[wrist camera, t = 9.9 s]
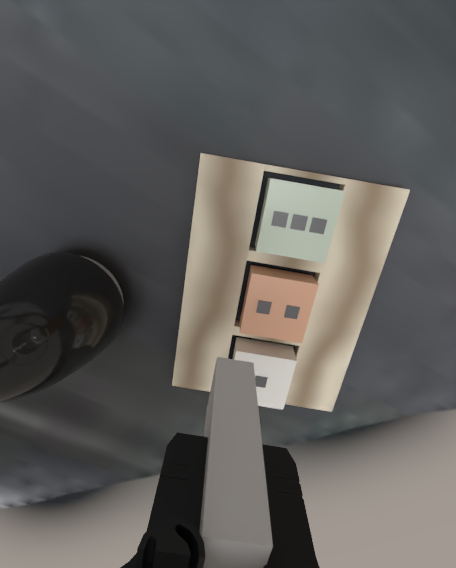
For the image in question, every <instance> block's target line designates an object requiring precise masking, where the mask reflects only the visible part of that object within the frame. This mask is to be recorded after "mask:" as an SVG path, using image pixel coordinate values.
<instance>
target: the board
mask: <svg viewBox="0 0 456 568" xmlns="http://www.w3.org/2000/svg"><path fill="white" fill-rule="evenodd" d="M264 171H268V172H273V173H279V174H285V175H290V176H296V177H302V178H307V179H313V180H319V181H325V182H330V183H336V184H340V185H339V189H338V190H341V191H345V194H344V198H343V201H342V205H341V208H340V212H339V215H338V219H337V222H336V226H335V229H334V233H333V236H332V240H331V243H330V247H329V250H328V254H327V257H326V261H325V263H321V262H315V261H309V260H303V259H298V258H292V257H286V256H280V255H274V254H268V253H263V252H257V251H256V248H254V247H249V246H250V241H251V236H252V230H253V225H254V220H255V215H256V210H257V204H258V199H259V194H260V189H261V184H262V178H263V173H264ZM409 192H410V190H408V189H402V188H397V187H391V186H385V185H380V184H374V183H368V182H363V181H357V180H351V179H346V178H340V177H334V176H329V175H323V174H317V173H311V172H306V171H300V170H294V169H289V168H283V167H277V166H272V165H266V164H260V163H255V162H249V161H243V160H238V159H232V158H226V157H221V156H215V155H209V154H204V153H201V155H200V163H199V171H198V179H197V187H196V195H195V203H194V211H193V219H192V228H191V236H190V244H189V252H188V260H187V268H186V276H185V284H184V292H183V300H182V309H181V317H180V325H179V333H178V341H177V349H176V357H175V365H174V373H173V381H172V386H178V387H184V388H190V389H196V390H202V391H208V392H210V391H211V385H212V380H213V375H214V370H215V365H216V360H217V357H222V358H228V355H229V350H230V345H231V340H232V335H237V336H243V337H249V338H255V339H261V340H267V341H273V342H279V343H285V344H291V345H295V348H294V352H295V356H296V359H297V363H296V366H295V370H294V374H293V377H292V381H291V384H290V388H289V391H288V395H287V398H286V402H285V404H287V405H293V406H299V407H305V408H312V409H318V410H324V411H330V412H332V410H333V407H334V404H335V401H336V399H337V396H338V393H339V390H340V387H341V384H342V382H343V379H344V376H345V373H346V370H347V367H348V365H349V362H350V359H351V356H352V353H353V350H354V348H355V345H356V342H357V339H358V336H359V333H360V331H361V328H362V325H363V322H364V319H365V316H366V314H367V311H368V308H369V305H370V302H371V300H372V297H373V294H374V291H375V288H376V285H377V283H378V280H379V277H380V274H381V271H382V268H383V266H384V263H385V260H386V257H387V254H388V251H389V249H390V246H391V243H392V240H393V237H394V234H395V232H396V229H397V226H398V223H399V220H400V217H401V215H402V212H403V209H404V206H405V203H406V201H407V198H408V195H409ZM247 261H253V262H259V263H265V264H270V265H276V266H282V267H288V268H294V269H300V270H306V271H311V272H315V276H314V279H315V280H316V281H317V283H318V284H319V286H318V289H317V293H316V296H315V300H314V303H313V307H312V310H311V314H310V317H309V321H308V324H307V328H306V331H305V335H304V338H303V342H302V343H297V342H291V341H285V340H279V339H273V338H267V337H261V336H255V335H249V334H243V333H240V320H235V319H236V314H237V308H238V303H239V298H240V293H241V288H242V282H243V277H244V272H245V267H246V262H247Z"/></svg>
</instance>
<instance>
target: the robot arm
mask: <svg viewBox="0 0 456 568" xmlns="http://www.w3.org/2000/svg"><path fill="white" fill-rule="evenodd" d="M121 568H319V565H318V562H317V559H316V556H315V551H314V547H313V542H312V538H311V532H310V528H309V523H308V518H307V514H306V509H305V505H304V500H303V499H302V490H301V486H300V484H299V476H298V472H297V467H296V463H295V462H294V460H293V458H292V457H291V455H290V454H289V452H288V450H287V449H286V448H281V447H275V446H268V445H262V438H261V429H260V420H259V410H258V401H257V392H256V382H255V373H254V363H252V362H246V361H240V360H234V359H228V358H222V357H217V360H216V365H215V370H214V375H213V380H212V385H211V391H210V396H209V401H208V406H207V412H206V421H205V430H204V437H202V436H196V435H189V434H182V433H177V434H176V435H175V436H174V437H173V439H172V440H171V441H170V443H169V444H168V445H167V449H166V453H165V457H164V461H163V465H162V470H161V474H160V479H159V482H158V486H157V490H156V495H155V499H154V503H153V507H152V511H151V515H150V520H149V524H148V528H147V532H146V533H145V534H144V535H143V538H142V540H141V542H140V544H139V547H138V550H137V554H136V555H135V556H134V557H133V558H132V559H131V560H130V561H129V562H128V563H126V564H125V565H124V566H122V567H121Z"/></svg>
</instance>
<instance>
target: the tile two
mask: <svg viewBox="0 0 456 568" xmlns="http://www.w3.org/2000/svg"><path fill="white" fill-rule="evenodd" d="M318 286H319V284H318V283H317V281H316V280H315V279H314V277H313V276H312V275H308V274H303V273H297V272H291V271H285V270H279V269H273V268H267V267H262V266H256V265H251V266H250V271H249V276H248V281H247V286H246V291H245V297H244V302H243V307H242V312H241V317H240V333H243V334H249V335H255V336H261V337H267V338H273V339H279V340H285V341H291V342H297V343H302V342H303V338H304V335H305V331H306V328H307V324H308V321H309V317H310V314H311V310H312V307H313V303H314V300H315V296H316V293H317V289H318Z"/></svg>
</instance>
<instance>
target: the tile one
mask: <svg viewBox="0 0 456 568" xmlns="http://www.w3.org/2000/svg"><path fill="white" fill-rule="evenodd" d="M232 359H234V360H240V361H246V362H252V363H254V373H255V382H256V392H257V401H258V406H263V407H269V408H275V409H282V410H283V409H284V405H285V402H286V398H287V395H288V391H289V388H290V384H291V381H292V377H293V374H294V370H295V366H296V363H297V359H296V356H295V352H294V349H293V346H288V345H282V344H276V343H270V342H264V341H258V340H252V339H246V338H240V337H236V342H235V347H234V352H233V357H232Z"/></svg>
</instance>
